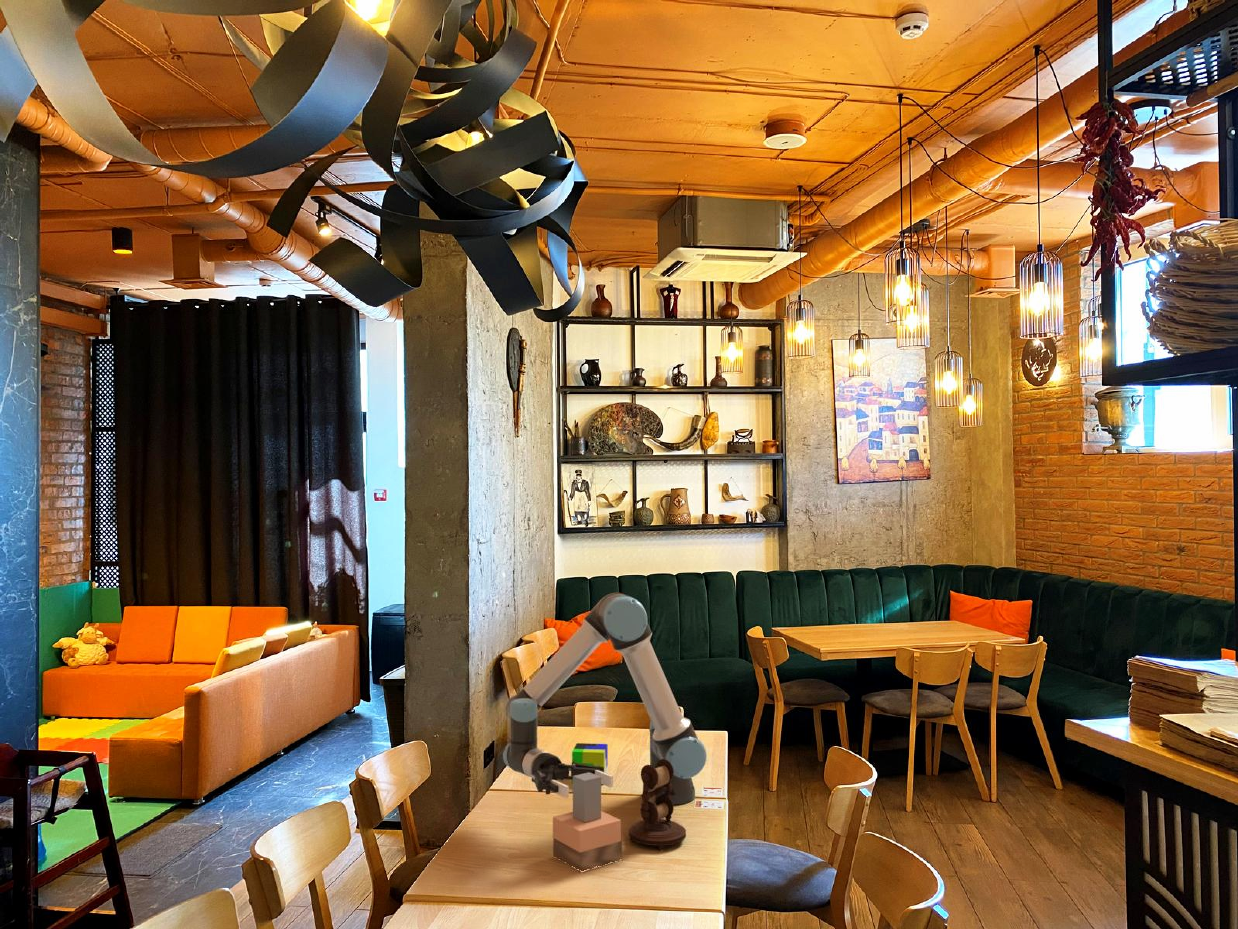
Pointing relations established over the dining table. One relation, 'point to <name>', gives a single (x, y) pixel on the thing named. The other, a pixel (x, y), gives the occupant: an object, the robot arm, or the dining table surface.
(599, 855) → the tower bottom
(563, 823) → the tower top
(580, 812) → the grey block
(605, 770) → the puzzle toy
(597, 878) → the dining table surface
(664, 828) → the scroll
